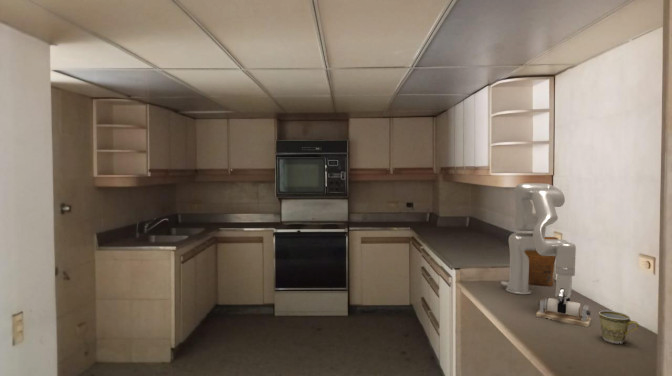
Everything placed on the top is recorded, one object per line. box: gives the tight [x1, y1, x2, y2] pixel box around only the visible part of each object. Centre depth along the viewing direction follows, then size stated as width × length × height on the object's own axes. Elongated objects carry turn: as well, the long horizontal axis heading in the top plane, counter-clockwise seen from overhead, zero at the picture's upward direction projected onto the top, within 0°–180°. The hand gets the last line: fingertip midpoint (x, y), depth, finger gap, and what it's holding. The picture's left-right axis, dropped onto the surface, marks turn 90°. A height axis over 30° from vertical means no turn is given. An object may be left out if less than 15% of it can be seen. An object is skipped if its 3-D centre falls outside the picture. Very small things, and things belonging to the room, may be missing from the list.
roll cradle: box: [535, 297, 592, 328], centre depth 187 cm, size 20×9×7 cm, turn 53°
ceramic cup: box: [598, 310, 640, 345], centre depth 162 cm, size 13×10×10 cm
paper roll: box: [546, 297, 581, 317], centre depth 187 cm, size 12×6×6 cm, turn 53°
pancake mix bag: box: [525, 236, 559, 287], centre depth 244 cm, size 7×19×28 cm, turn 72°
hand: (563, 309), depth 187 cm, fingers open, 9 cm apart
